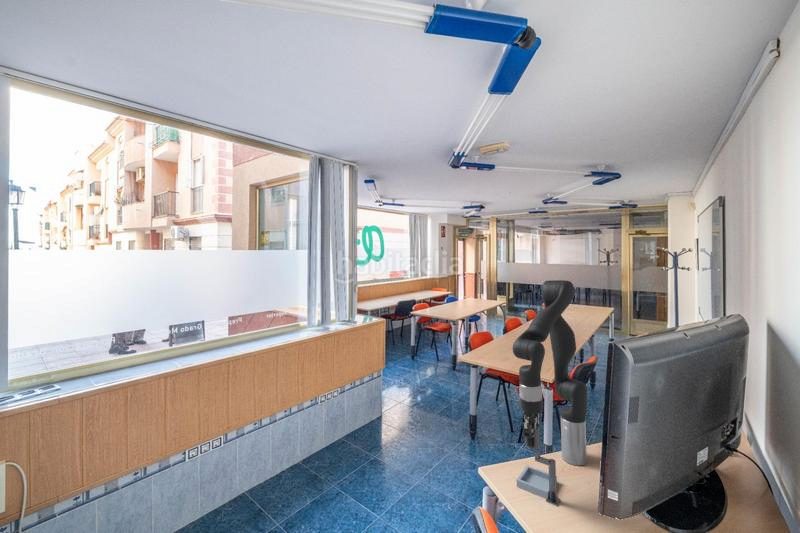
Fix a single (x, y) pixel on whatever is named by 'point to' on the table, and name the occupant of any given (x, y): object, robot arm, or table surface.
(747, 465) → the table surface
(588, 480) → the table surface
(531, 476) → the bay
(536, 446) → the plug block
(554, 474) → the hook post
